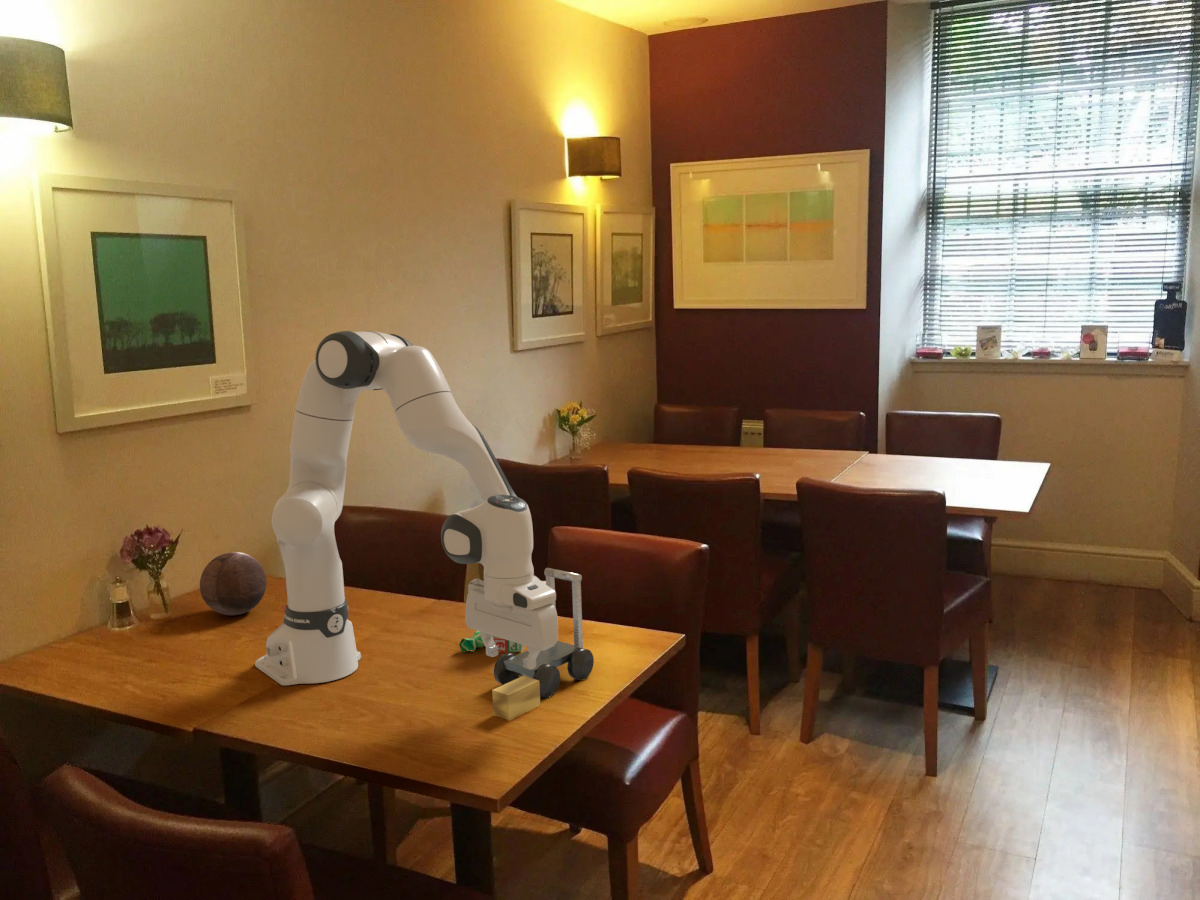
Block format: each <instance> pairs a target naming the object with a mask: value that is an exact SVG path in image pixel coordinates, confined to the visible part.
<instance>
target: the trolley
mask: <svg viewBox="0 0 1200 900" xmlns="http://www.w3.org/2000/svg"><path fill="white" fill-rule="evenodd" d="M543 574H544V576H545V581H546V585H547V586H549V587H550V588H552V589H553V590H554V591H555V592H556V587H555V586H556V585H555V584H556V583H555V579H560V580H564V581H568V582H571V590H572V592H571V595H572V621H573V644H571V643H568V642H564V641H559V640H558V641H557V643H556V644H555V646H553V647H551V648H549V649H547V650H544V651H540V653H539V654H538V656H537V658H536V667H535V668H534V669H531V670H530V669H527V668H524V667H523V665H524V663H523V659H524V658H527V657H528V655H529V653H530V652H528V651H527V650H524V651H522V653H517V654H515V653H513V652H503V653H502V654H500V656H499V657H497V659H496V660H495V664H494V666H493V667H494V669H493V677H494V679H495V682H497V683H499V684H501V685H504V684H506V683H509V682H511V681H513V680H515V679H517V678H520V677H522V676H526V677H529V678H532V679H536V680H539V684H540V698H541V697H542V698H547V697H548V698H550V697H549V696H551V695H552V696H553V695H554V694H555V693H556V692H557V690H558V689H559V686H560V681H561V673H560V670H559V668H558V667H562V665H565V664H567V673H568V675H569V676H570V677H571V678H572V679H574V680H578V681H584V680H586V679H587V678H588V677H589V676H590V674H591V673H592V671H593V667H594V662H595V659H594V655H593V652H592V651H591V650H590V649H587V648H584V641H583V639H584V638H583V614H582V613H583V610H582V606H583V605H582V586H581V585H582V584H581V582H582V580H583V576H582V574H579V573H574V572H569V571H565V570H561V569H554V568H551V567H546V568H545V569H544V572H543ZM551 604H553V605H554V607H555V609H556V610H557V608H556V600H555V601H554V602H552V603H551ZM583 679H584V680H583ZM552 696H551V697H552ZM548 698H547V699H548Z"/></svg>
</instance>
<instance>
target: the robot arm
mask: <svg viewBox="0 0 1200 900" xmlns="http://www.w3.org/2000/svg"><path fill="white" fill-rule="evenodd" d="M380 390H384V392H386V394H387V396H388V398H389V401H390V402H391V403H390V404H391V406H392V409H393V412H394V415H395V418H396V421H397V423H398V425H399V428H400V431H401V432H402V434H403V436H404V437H405V439H406V440H407V442H408V443H410V444H411V445H413V446H414V447H415V448H417V449H419V450H422V451H424V452H426V453H432V454H436V455H437V454H438V455H441V456H444V457H447V458H449V459H452V460H454V461H456V462H457V463H459V464H460V465H461V466H463V468H464V469H465V470H466V471H467V473H468V475H469V477H470V479H471V481H472V482H473V485H474V486H475V488H476V490H477V493H478V494H479V496H480V498H481V499H482V503H480V504H479V505H476V506H474V507H471V508H466V509H464V510H459V511H457V512H455V513H452V514H451V515H448V516H447V517H446V518H445V520H444V522H443V524H442V527H441V531H440V538H441V539H440V540H441V545H442V548H443V551H444V552H445V554H446V555H447V557H449V558H450V559H451V561H453V562H454V563H457V564H462V565H473V564H480V565H482V566H483V580H482V579H480V578H474V579H473V580H471V581H470V582H469V583H468V586H467V595H466V600H465V609H464V610H465V612H464V613H465V615H464V617H465V618H464V620H465V621H464V622H465V624H466V626H467V628H468V629H471V630H475V631H476V632H477V631H480V632H481V638H482V640H483V643H484V645H485V646H484V647H485V655H486V656H488V657H491V658H494V657H497V656H499V652H498V646H497V645H495V642H494V639H493V636H496V637H499V638H503V639H506V640H509V641H512V642H515V643H518V644H522V645H525V646H527V647H526V651H528V652H530V653H529V655H528V657H527V658H524V659H523V663H524V665H523V667H524V668H527V669H530V670H531V669H534V668H535V667H536V658H537V656H538V654H539V653H540V651H544V650H547V649H549V648H551V647H553V646H555V644H556V643H557V641H559V621H558V619H559V618H558V612H557V608H556V609H555V607H554V605H553V604H551V603H552V602H554V601H555V602H556V600H557V592H556V590H555V591H554V590H553V589H552V588H550V587H549V586H547V585H546V584H544V583H543V582H542V581H543V580H540V578H539V577H537V576H536V575H535V571H534V565H533V562H532V553H533V550H534V530H533V529H534V528H533V520H532V514H531V510H530V508H529V504H528V503H527V502H526V500H524V499H522V498H520V497H518V496H517V495H516V493H515V491H514V490H513V488H512V486H511V485H510V482H509V481H508V479H507V477H506V475H505V473H504V471H503V469H502V468H501V466H500V464H499V461H498V460H497V458H496V456H495V455H494V453H493V451H492V449H491V447H490V445H489V444H488V441H487V439H486V438H485V436H484V435H483V434H482V431H480V430H479V428H478V427H476V425H474V424H472V423H471V422H470V421H469V420H468V419H467V417H466V416H465V414H464V413H463V412H462V411H461V409H460V406H459V405H458V404H457V401H456V400H455V398H454V396H453V393H452V390H451V387H450V385H449V383H448V381H447V379H446V376H445V374H444V373H443V371H442V368H441V367H440V365H439V363H438V362H437V360H436V359H435V357H434V355H433V354H432V352H431V351H430V350H429V349H427V348H426V347H424V346H422V345H413V344H412V343H411V342H410V340H408V339H406V338H404V337H402V336H400V335H399V334H395V333H385V332H381V331H374V330H366V331H351V330H342V331H336V332H333V333H330V334H328V335H326V336H325V337H324V338H323V339H322V340H321V341H320V342H319V344H318V346H317V348H316V352H315V359H314V360H313V361H311V362H310V363H309V364H308V366H307V367H306V371H305V373H304V376H303V379H302V382H301V385H300V389H299V391H298V397H297V400H296V405H295V409H294V410H295V412H294V417H293V423H292V424H293V425H292V430H291V436H290V442H289V449H288V450H289V453H290V454H289V455H290V462H289V463H290V464H289V465H290V466H289V468H290V469H289V483H288V487H287V489H286V492H285V493H283V495H281V496H280V497H279V499H277V501H276V502H275V504H274V506H273V507H274V508H273V510H272V514H271V515H272V516H271V526H272V527H271V528H272V530H273V533H274V535H275V536H276V540H277V546H278V548H279V552H280V556H281V559H282V563H283V568H284V575H285V588H286V589H285V590H286V597H287V598H286V599H287V604H286V605H283V606H281V607H280V608H281V609H282V610H281V612H282V613H283V612H284V617H283V622H282V623H281V624H280V625H279V626H278V627H277V628H276V629H275V630H274V631H272V633H270V634H269V635H268V637H267V639H266V641H265V642H266V648H265V649H266V650H265V651H266V652H265V653H266V654H264V655H263V656H261V657H259V658H258V659H257V660H255V662H254V663H255V665H254V666H255V667H256V668H257V669H258V670H260V672H262V673H264V674H265V675H267V676H268V677H270V678H271V679H272V680H273V681H275V682H276V683H278V684H279V685H280V686H291V685H298V684H300V685H301V684H302V685H303V684H319V683H328V682H331V681H335V680H336V681H337V680H339V679H340V680H341V679H342V678H345V677H347V676H349V675H351V674H352V673H355V671H357V669H358V667H359V661H360V660H361V658H362V655H361V651H358V649H357V645H356V638H355V633H354V627H353V623H352V621H351V620H349V605H348V600H347V599H346V598H345V584H344V583H345V581H344V570H343V562H342V560H341V558H340V554H339V550H338V546H337V545H338V544H337V541H336V536H335V524H336V523H335V522H336V521H337V520H338V519H339V517H340V516H341V514H342V511H343V507H344V500H345V499H344V497H345V490H346V482H347V481H346V478H347V466H348V465H347V464H348V462H347V461H348V454H349V449H350V442H351V436H352V429H353V426H354V419H355V413H356V412H355V411H356V404H357V401H358V398H359V397H360V394H361V393H362V392H363V391H380ZM283 608H284V609H283ZM492 635H493V636H492Z"/></svg>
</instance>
